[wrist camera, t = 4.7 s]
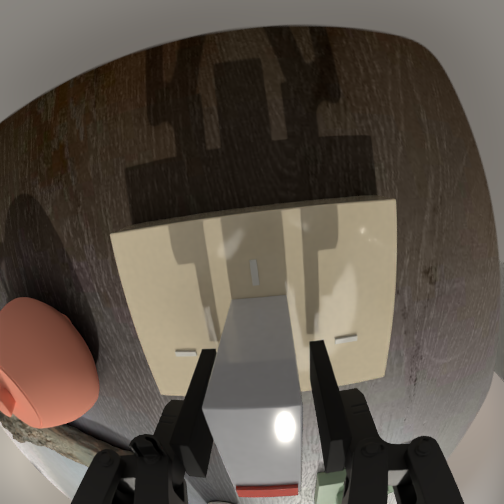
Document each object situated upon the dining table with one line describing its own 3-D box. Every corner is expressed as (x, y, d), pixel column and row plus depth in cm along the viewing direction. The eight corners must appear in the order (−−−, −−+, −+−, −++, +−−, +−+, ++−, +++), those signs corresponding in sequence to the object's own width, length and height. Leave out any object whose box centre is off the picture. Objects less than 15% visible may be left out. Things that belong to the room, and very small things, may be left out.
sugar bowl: (129, 398, 22) (87, 477, 12) (43, 383, 23) (0, 433, 13) (78, 281, 19) (-11, 344, 9) (0, 292, 20) (-61, 331, 10)
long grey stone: (159, 472, 28) (145, 435, 26) (151, 499, 23) (134, 466, 21) (0, 408, 27) (-21, 367, 25) (-13, 422, 22) (-36, 381, 20)
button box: (407, 451, 23) (416, 473, 19) (390, 481, 26) (396, 500, 22) (317, 472, 24) (320, 498, 20) (314, 498, 27) (316, 518, 23)
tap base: (376, 194, 16) (397, 199, 13) (370, 368, 19) (381, 393, 16) (131, 224, 17) (107, 234, 14) (177, 385, 21) (167, 410, 18)
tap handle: (231, 298, 15) (199, 413, 7) (286, 294, 15) (303, 410, 7) (247, 391, 17) (236, 498, 9) (292, 388, 16) (301, 496, 8)
